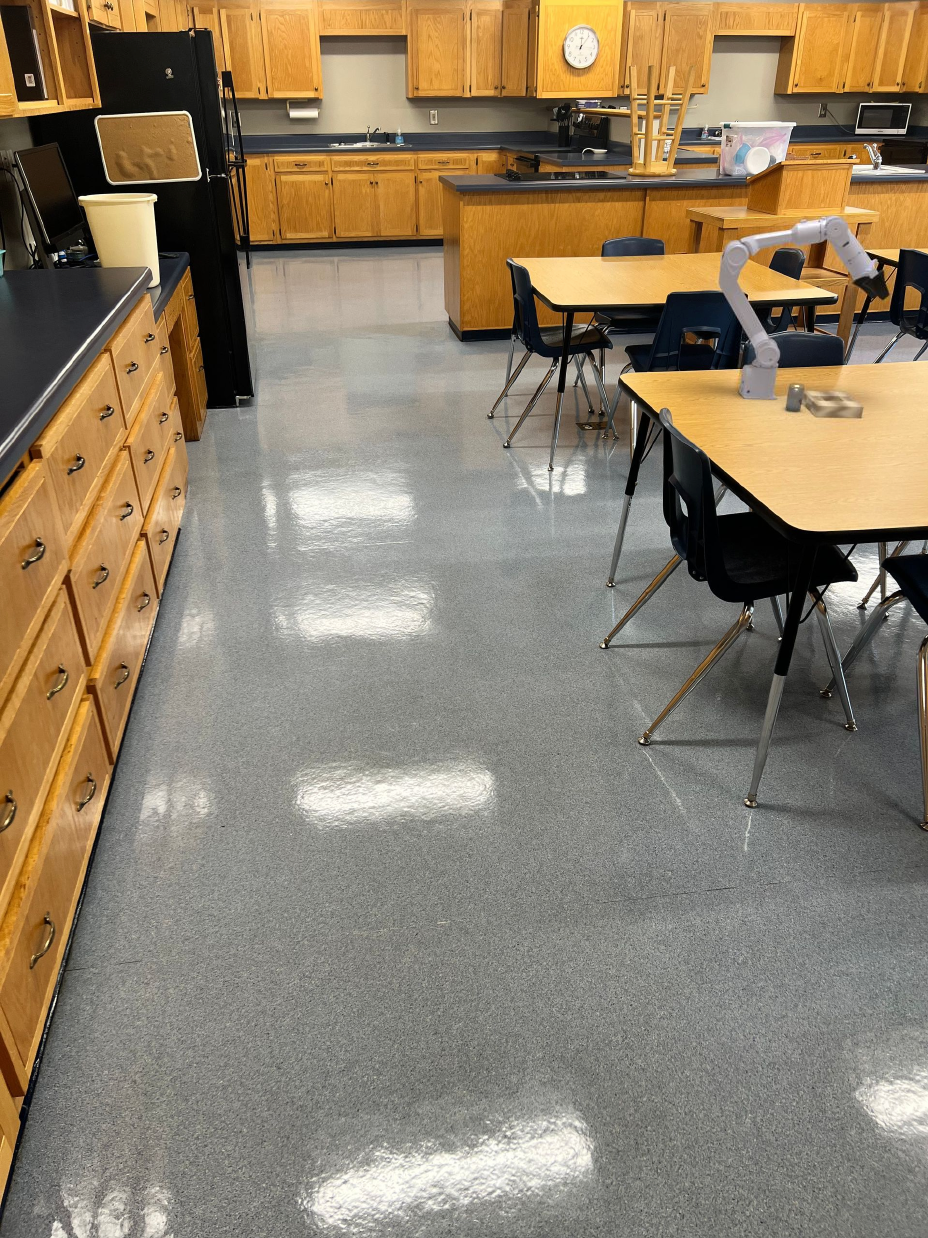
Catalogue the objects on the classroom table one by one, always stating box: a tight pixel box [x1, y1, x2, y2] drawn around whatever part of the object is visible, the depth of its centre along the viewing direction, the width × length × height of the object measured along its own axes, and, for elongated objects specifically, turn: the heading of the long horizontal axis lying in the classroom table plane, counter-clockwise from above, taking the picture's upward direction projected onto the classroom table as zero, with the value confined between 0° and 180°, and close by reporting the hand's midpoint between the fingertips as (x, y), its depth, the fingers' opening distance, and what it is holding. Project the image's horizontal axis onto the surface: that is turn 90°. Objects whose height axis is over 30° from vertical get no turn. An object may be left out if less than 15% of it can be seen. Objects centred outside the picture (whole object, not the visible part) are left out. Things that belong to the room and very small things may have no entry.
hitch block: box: [801, 390, 865, 419], centre depth 248 cm, size 12×16×3 cm
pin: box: [784, 382, 806, 413], centre depth 246 cm, size 4×4×7 cm
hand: (881, 296), depth 243 cm, fingers open, 7 cm apart
